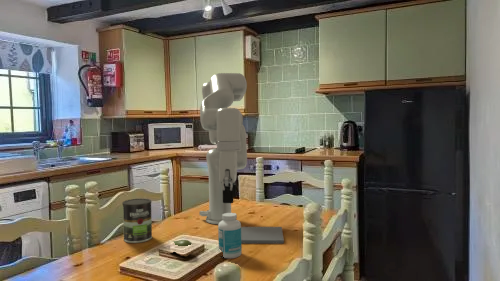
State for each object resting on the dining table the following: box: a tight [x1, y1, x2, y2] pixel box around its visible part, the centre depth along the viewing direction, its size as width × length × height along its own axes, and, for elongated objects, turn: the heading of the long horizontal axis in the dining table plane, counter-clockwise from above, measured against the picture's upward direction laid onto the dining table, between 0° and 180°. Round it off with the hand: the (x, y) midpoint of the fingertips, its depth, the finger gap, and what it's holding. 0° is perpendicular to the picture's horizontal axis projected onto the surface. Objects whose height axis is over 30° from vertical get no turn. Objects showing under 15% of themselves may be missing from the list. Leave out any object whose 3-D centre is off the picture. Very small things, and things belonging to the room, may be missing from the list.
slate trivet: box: [241, 226, 285, 245], centre depth 139 cm, size 16×16×1 cm
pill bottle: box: [217, 212, 243, 260], centre depth 120 cm, size 8×7×14 cm
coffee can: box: [122, 198, 153, 244], centre depth 138 cm, size 10×10×14 cm
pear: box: [173, 239, 193, 246], centre depth 122 cm, size 6×5×10 cm
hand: (229, 199), depth 119 cm, fingers open, 9 cm apart
